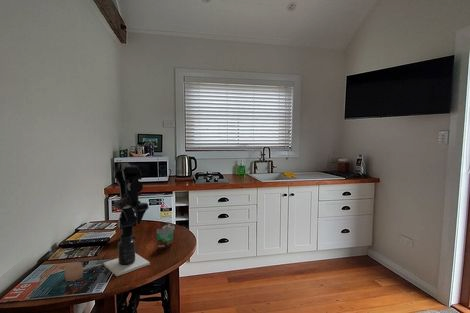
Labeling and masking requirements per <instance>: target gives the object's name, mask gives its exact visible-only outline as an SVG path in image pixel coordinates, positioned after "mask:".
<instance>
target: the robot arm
mask: <svg viewBox="0 0 470 313" xmlns="http://www.w3.org/2000/svg"><path fill="white" fill-rule="evenodd" d="M113 179H115V183H116V184H117V185H118V187H119V196H120V198H119V199H118V200H116V201H114V202H113V203H114V204H113V205H114V207H115V209H116V210H120V211H121V212H120V214H119V217H118V220H117V228H118V229H119V230H121V235H122V234H125V233H131V234H132V239H134V238H135V239H136V236H135V235H134V229H133V228H135V227H136V226H137V225H140V224H141V222H142V219H143V218H144V215H145V213H146V211H147V210H148V209H149V204H148V203H147V202H141V201H140V200H139V196H141V193H140V192H142V190H143V187H144V185H143V184H142V182H141V181H139V180H142V179H143V174H142V172H141V170H140V168H139V166H138V165H131V164H130V163H129V162H128V161H125V162H118V164H117V166H115V167H114V170H113ZM118 238H119V239H120V236H119V237H118Z"/></svg>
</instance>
